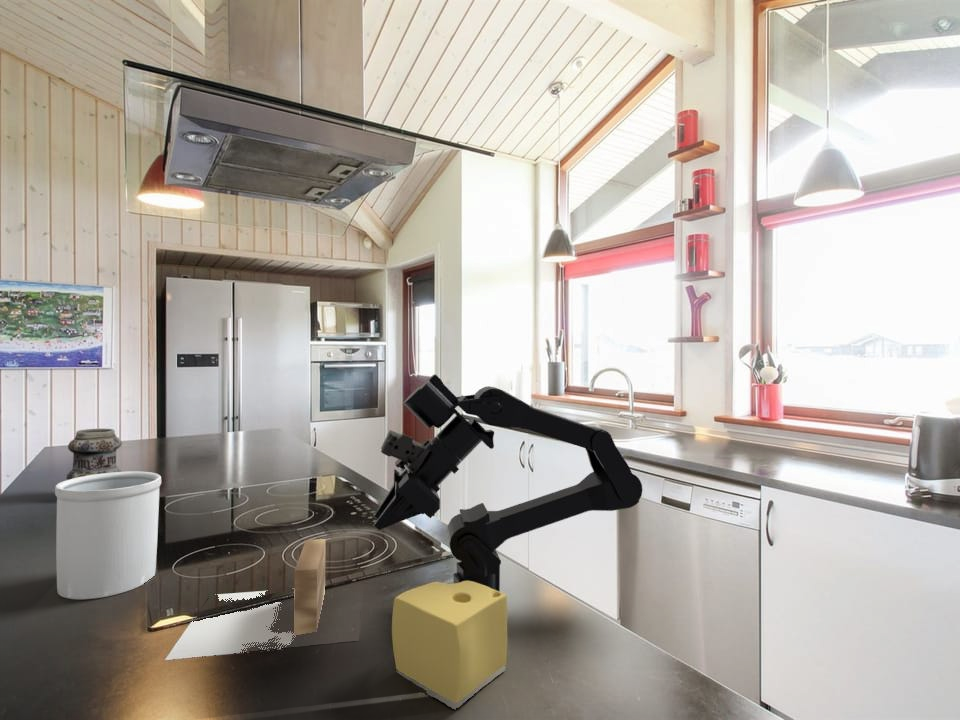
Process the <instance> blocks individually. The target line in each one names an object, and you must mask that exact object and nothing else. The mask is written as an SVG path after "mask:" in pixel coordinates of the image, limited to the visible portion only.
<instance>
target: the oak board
mask: <svg viewBox="0 0 960 720" xmlns="http://www.w3.org/2000/svg"><path fill="white" fill-rule="evenodd" d="M326 541H327V540H326V538H319V539H318V538H317V539H315V538H314V539H305V542H304V545H303V547H302V549H301V553H300V555H299V557H298V560H297V563H296V565H295V568H294V573H293V574H294V577H293V579H294V583H293V589H294V636H296V635H301V634H306V633H312V632H317V628H318V623H319V619H320V614H321V610H322V605H323V600H324V595H325V586H326Z"/></svg>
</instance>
